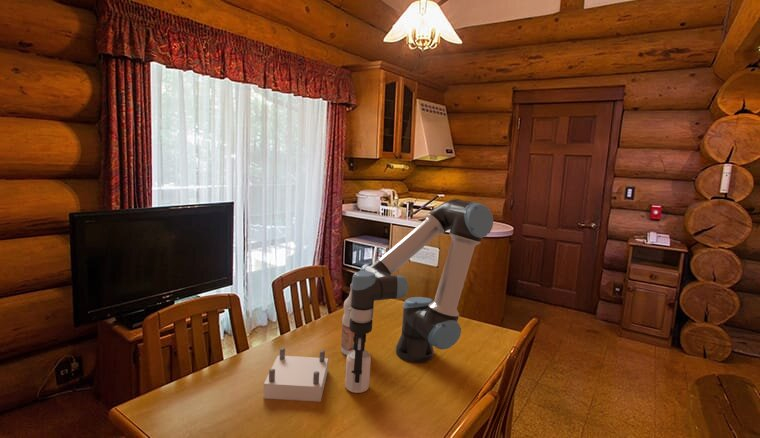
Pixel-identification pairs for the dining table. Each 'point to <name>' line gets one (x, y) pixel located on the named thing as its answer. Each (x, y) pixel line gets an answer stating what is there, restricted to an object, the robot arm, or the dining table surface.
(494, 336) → the dining table surface
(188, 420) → the dining table surface
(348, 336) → the fruit juice
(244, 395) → the dining table surface
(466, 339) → the dining table surface
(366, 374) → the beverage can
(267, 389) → the peg stand
